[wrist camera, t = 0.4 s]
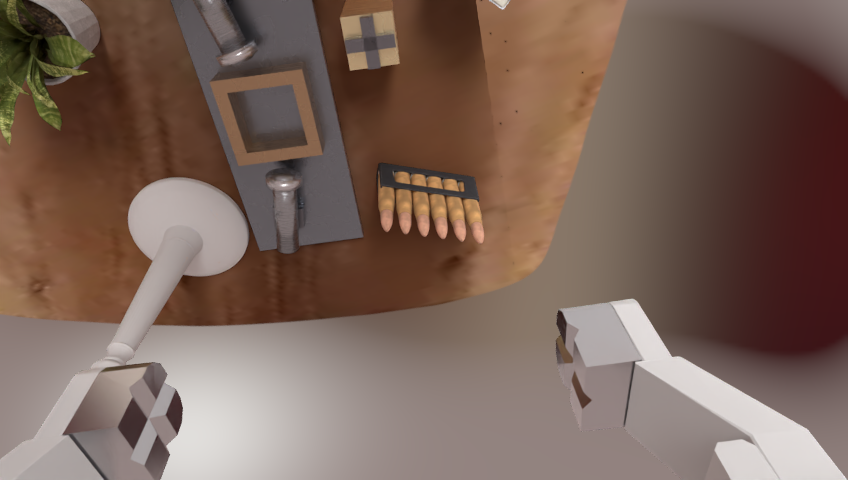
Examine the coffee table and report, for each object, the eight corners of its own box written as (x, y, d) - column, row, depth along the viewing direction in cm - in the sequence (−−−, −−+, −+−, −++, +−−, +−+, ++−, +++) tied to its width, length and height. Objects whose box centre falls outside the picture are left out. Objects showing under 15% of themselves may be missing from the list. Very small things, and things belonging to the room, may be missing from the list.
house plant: (128, -84, 43) (11, -70, 29) (186, 84, 51) (115, 156, 37) (-47, -65, 43) (-245, -42, 29) (39, 100, 51) (-87, 179, 37)
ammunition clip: (376, 177, 57) (374, 238, 48) (378, 162, 57) (377, 221, 47) (470, 191, 59) (488, 253, 49) (474, 176, 58) (493, 236, 48)
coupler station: (150, -70, 44) (133, -67, 41) (293, -90, 43) (287, -88, 40) (261, 246, 61) (255, 263, 58) (363, 232, 61) (362, 249, 58)
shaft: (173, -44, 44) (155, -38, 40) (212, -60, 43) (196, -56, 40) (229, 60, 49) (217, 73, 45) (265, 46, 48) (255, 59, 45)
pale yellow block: (346, -3, 47) (339, 19, 39) (390, -9, 47) (392, 12, 39) (355, 43, 50) (349, 73, 41) (397, 37, 49) (400, 66, 41)
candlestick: (238, 284, 64) (146, 534, 39) (125, 257, 61) (-52, 511, 36) (259, 197, 58) (165, 430, 33) (135, 162, 55) (-73, 391, 30)
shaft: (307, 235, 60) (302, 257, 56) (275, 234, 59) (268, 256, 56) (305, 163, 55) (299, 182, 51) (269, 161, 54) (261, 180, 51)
